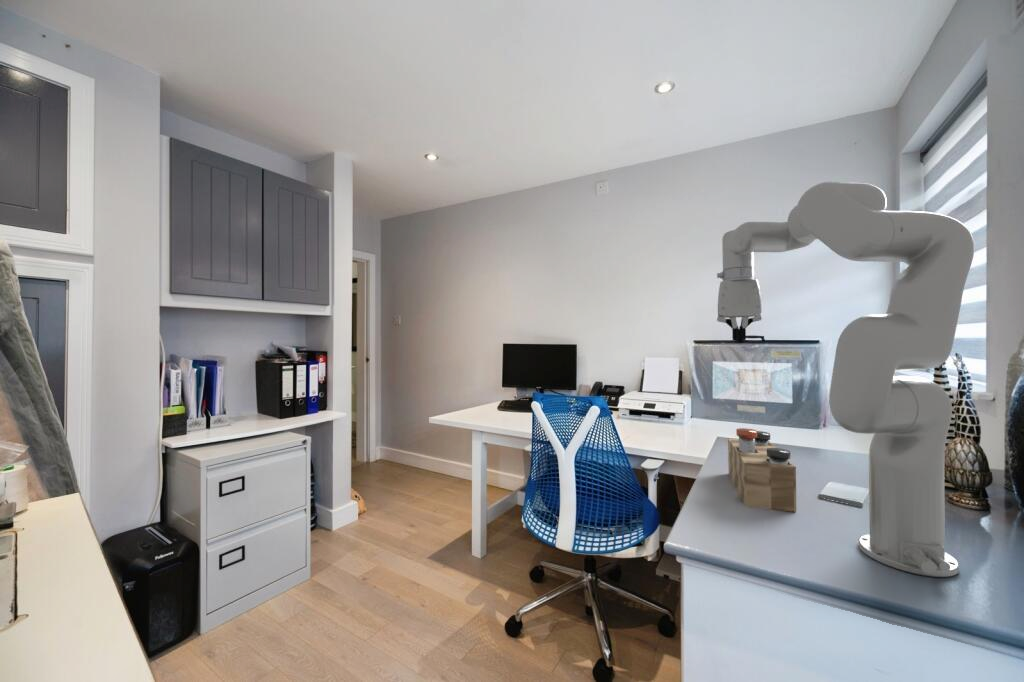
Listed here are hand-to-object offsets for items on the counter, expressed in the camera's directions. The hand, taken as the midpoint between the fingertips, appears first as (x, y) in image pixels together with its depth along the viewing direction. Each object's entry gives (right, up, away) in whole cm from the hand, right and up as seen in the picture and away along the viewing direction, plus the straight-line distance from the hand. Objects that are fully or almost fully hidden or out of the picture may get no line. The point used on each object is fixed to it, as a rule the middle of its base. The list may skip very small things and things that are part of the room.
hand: (739, 342), depth 113 cm
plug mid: (-2, -34, -8) cm, 35 cm away
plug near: (-1, -37, -18) cm, 41 cm away
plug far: (+5, -36, -1) cm, 37 cm away
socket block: (0, -37, -9) cm, 38 cm away
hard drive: (+18, -38, -13) cm, 44 cm away
